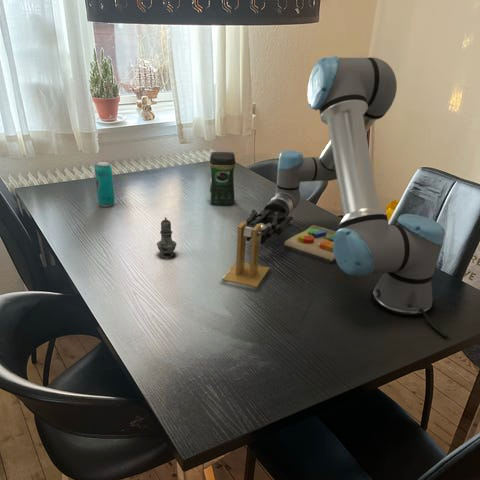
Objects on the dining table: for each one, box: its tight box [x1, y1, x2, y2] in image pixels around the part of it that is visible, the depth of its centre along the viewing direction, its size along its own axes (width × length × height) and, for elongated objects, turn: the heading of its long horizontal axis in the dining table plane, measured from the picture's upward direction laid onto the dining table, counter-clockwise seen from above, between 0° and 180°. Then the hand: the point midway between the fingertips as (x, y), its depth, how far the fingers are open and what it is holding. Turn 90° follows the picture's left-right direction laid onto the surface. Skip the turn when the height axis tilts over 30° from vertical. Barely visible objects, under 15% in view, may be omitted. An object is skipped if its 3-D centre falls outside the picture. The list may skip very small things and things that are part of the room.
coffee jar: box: [208, 151, 237, 206], centre depth 184 cm, size 10×8×19 cm
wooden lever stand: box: [221, 220, 271, 289], centre depth 136 cm, size 12×10×16 cm
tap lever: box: [243, 223, 268, 237], centre depth 139 cm, size 15×4×4 cm, turn 162°
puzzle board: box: [283, 225, 337, 263], centre depth 160 cm, size 18×19×4 cm
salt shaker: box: [156, 216, 177, 260], centre depth 147 cm, size 6×6×12 cm
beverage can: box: [94, 160, 115, 208], centre depth 177 cm, size 6×6×15 cm
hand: (255, 237), depth 140 cm, fingers closed on tap lever, 4 cm apart
